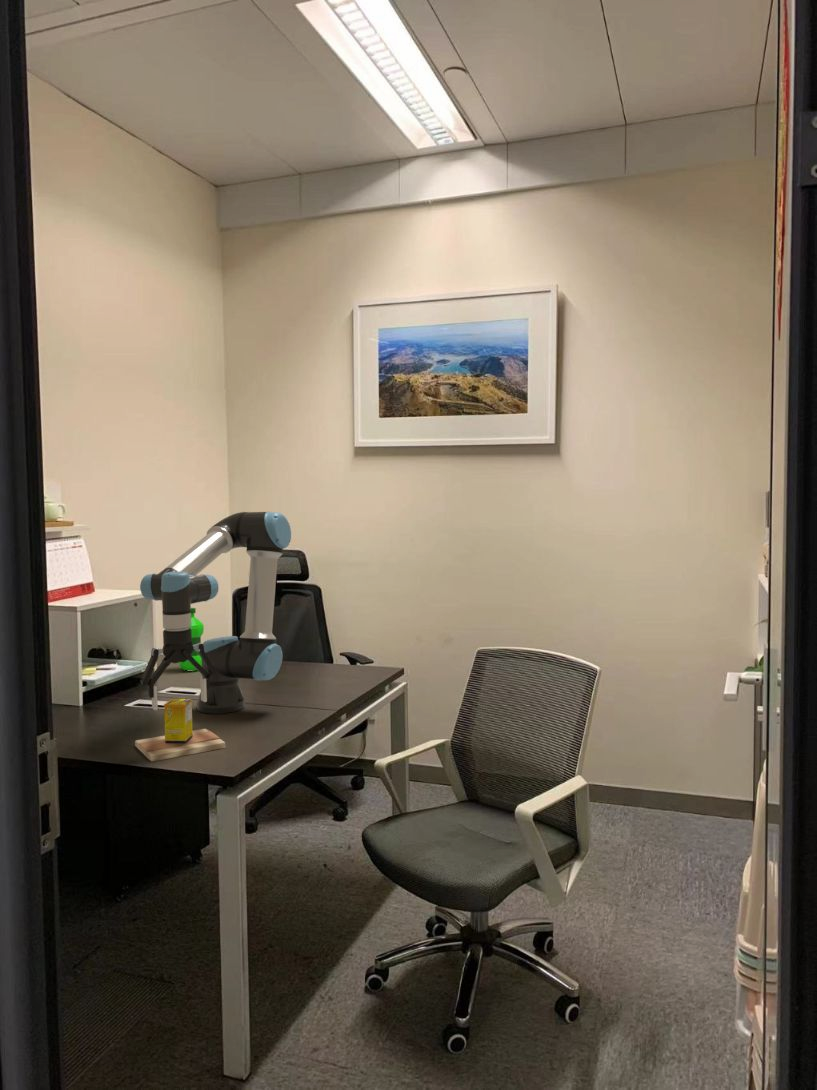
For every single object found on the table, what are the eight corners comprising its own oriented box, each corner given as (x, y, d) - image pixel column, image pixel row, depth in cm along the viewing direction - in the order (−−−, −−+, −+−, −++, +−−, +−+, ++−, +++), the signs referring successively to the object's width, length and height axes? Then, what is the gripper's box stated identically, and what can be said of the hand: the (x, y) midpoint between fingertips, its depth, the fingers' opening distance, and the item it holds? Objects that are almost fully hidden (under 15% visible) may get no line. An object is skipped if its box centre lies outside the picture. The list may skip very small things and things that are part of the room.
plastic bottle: (199, 673, 309) (197, 610, 308) (173, 672, 311) (172, 610, 309) (208, 667, 319) (207, 607, 318) (184, 667, 321) (182, 606, 319)
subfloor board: (205, 733, 228) (205, 727, 228) (225, 747, 215) (225, 741, 215) (135, 745, 217) (135, 739, 217) (151, 761, 204) (151, 754, 204)
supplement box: (172, 737, 219) (171, 698, 218) (193, 737, 219) (192, 698, 218) (164, 743, 213) (163, 704, 212) (186, 743, 213) (185, 704, 212)
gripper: (216, 622, 224) (218, 694, 226) (126, 631, 210) (129, 709, 212) (225, 625, 218) (228, 700, 219) (134, 635, 204) (137, 715, 206)
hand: (179, 705), depth 216 cm, fingers open, 13 cm apart
